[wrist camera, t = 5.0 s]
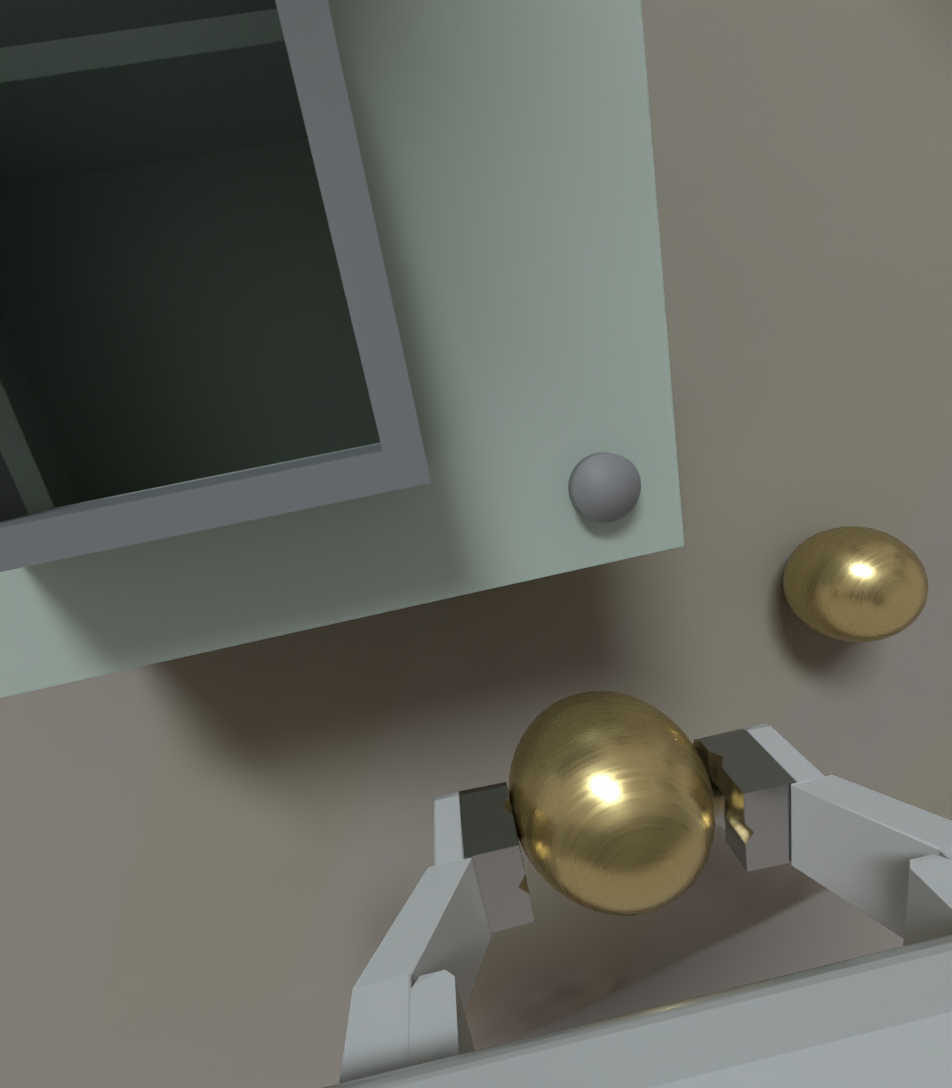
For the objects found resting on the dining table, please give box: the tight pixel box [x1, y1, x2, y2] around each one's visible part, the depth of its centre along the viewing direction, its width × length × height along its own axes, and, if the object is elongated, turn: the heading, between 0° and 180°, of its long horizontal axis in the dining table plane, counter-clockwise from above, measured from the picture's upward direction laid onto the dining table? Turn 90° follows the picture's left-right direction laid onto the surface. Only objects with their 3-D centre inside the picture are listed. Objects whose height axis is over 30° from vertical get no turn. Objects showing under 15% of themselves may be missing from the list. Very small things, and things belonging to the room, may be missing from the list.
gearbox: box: [0, 0, 684, 698], centre depth 10 cm, size 16×12×10 cm
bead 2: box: [783, 526, 928, 642], centre depth 17 cm, size 4×4×4 cm
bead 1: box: [509, 691, 715, 915], centre depth 10 cm, size 4×4×4 cm
